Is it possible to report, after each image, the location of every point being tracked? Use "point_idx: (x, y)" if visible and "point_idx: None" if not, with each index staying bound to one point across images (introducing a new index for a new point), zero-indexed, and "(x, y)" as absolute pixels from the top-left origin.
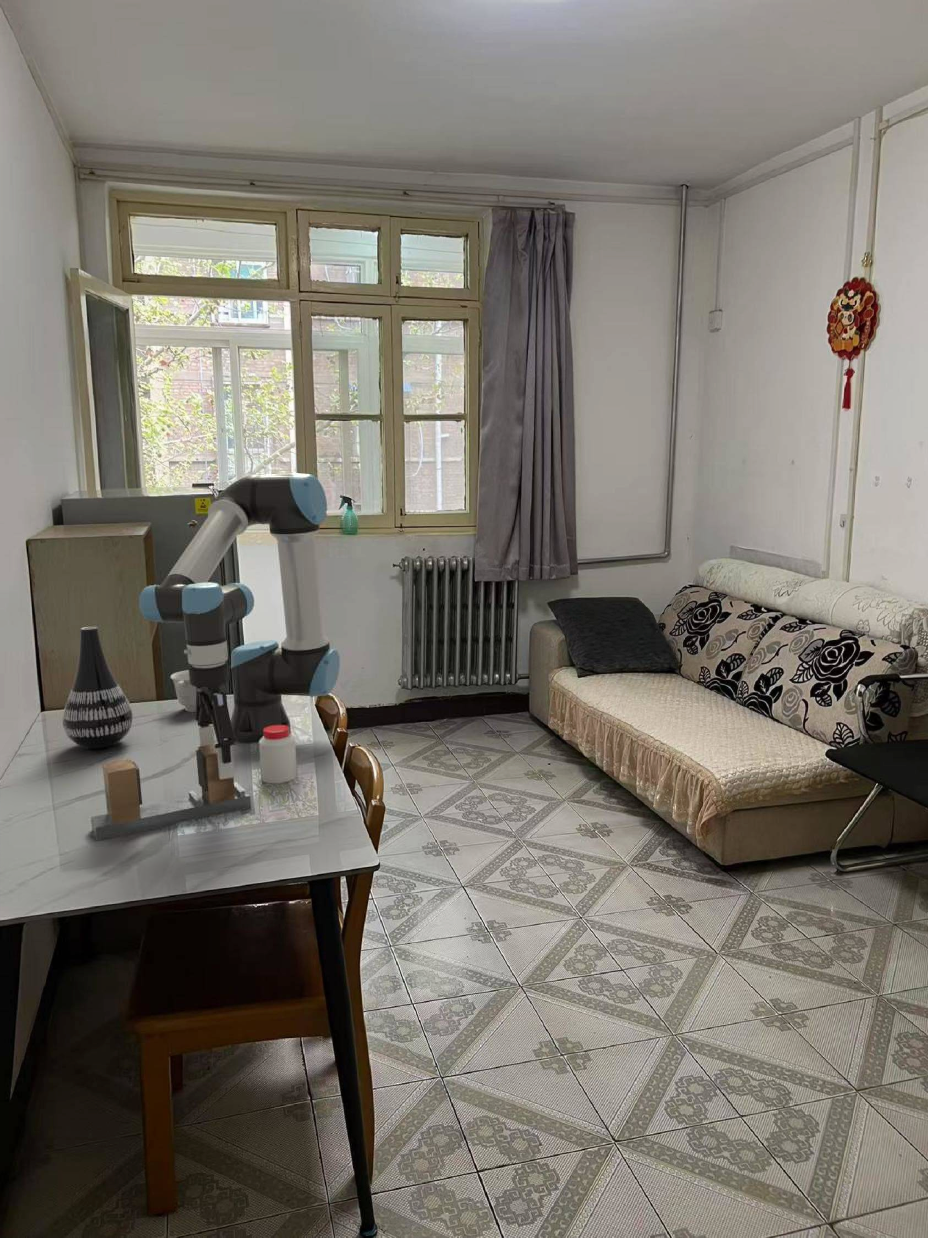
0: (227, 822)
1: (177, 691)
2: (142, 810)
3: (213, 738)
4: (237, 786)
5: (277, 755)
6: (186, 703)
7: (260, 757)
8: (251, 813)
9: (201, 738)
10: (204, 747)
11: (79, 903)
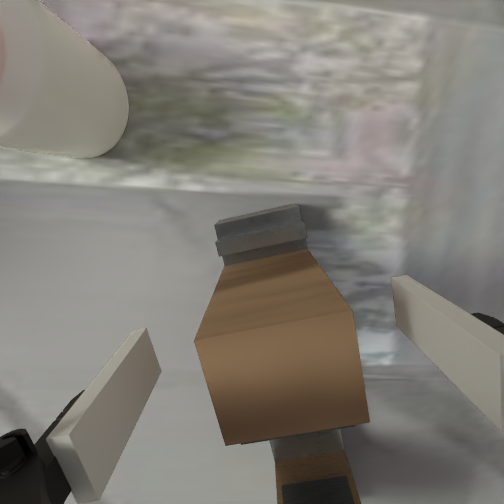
0: (366, 265)
1: None
2: (296, 448)
3: (110, 380)
4: (256, 241)
5: (75, 77)
6: None
7: (41, 149)
8: (333, 205)
9: (126, 439)
10: (246, 422)
11: None
